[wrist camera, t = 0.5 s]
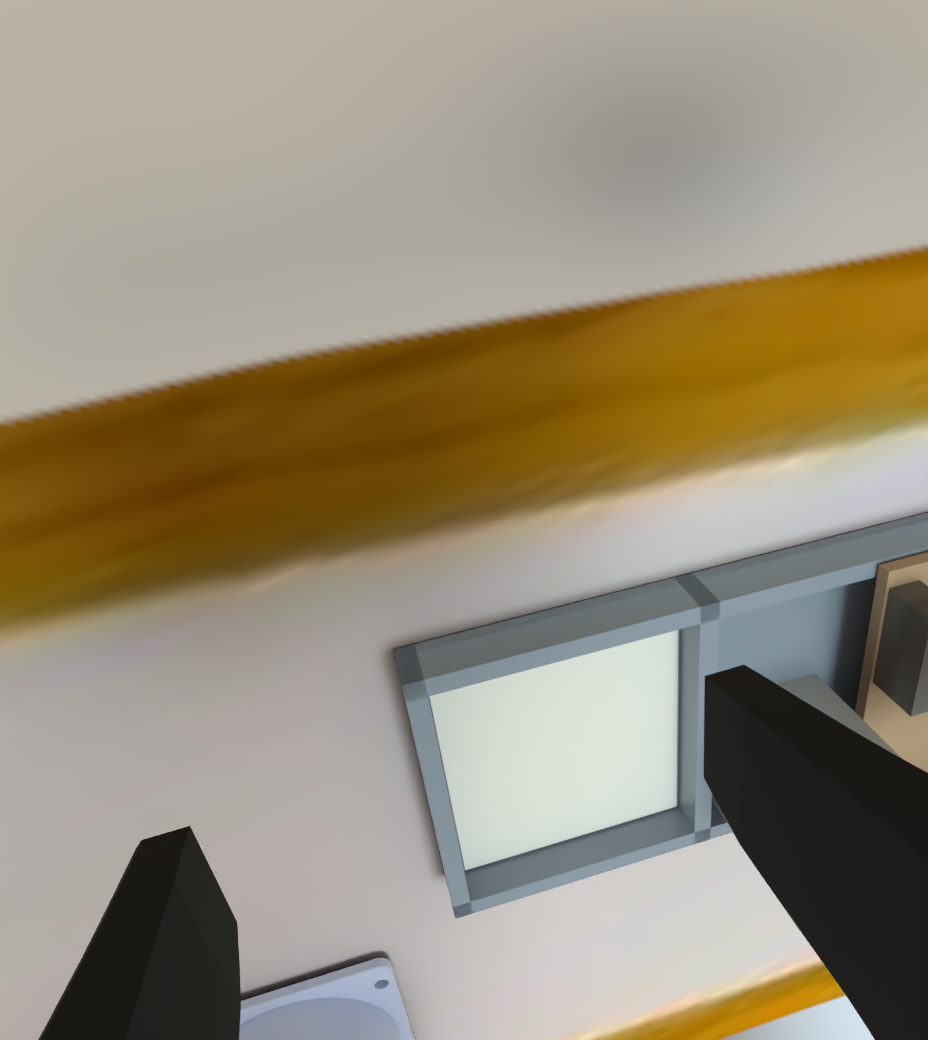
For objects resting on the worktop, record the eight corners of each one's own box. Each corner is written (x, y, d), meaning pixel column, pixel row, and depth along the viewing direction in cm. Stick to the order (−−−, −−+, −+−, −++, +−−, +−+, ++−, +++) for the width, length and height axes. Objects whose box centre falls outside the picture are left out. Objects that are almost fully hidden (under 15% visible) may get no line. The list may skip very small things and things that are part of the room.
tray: (917, 733, 29) (950, 764, 27) (445, 877, 26) (455, 918, 25) (969, 501, 24) (1012, 524, 22) (393, 649, 21) (402, 685, 20)
